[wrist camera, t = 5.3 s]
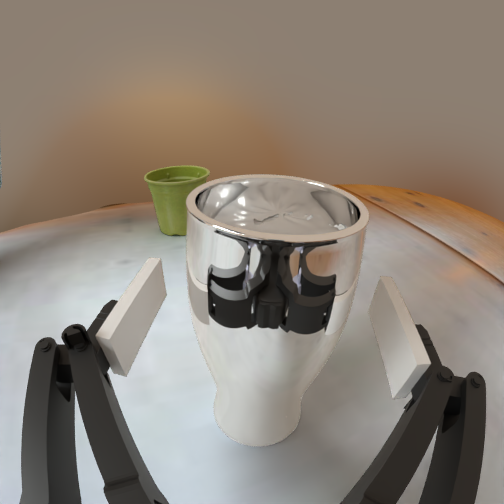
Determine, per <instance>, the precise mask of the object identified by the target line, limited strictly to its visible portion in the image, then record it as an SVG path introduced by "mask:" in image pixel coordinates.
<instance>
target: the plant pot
mask: <svg viewBox="0 0 504 504" xmlns="http://www.w3.org/2000/svg"><path fill="white" fill-rule="evenodd" d="M209 174H210V172H209V170H208V169H206V168H203V167H198V166H172V167H165V168H161V169H157V170H153V171H151V172H149V173H147V174H146V175H145V176H144V179H145V181H146V182H147V183H148V187H149V189H150V191H151V193H152V198H153V202H154V206H155V210H156V215H157V219H158V223H159V227H160V230H161V232H163V233H164V234H166V235H174V234H178V235H181V236H183V235H186V229H187V208H186V199H187V197H188V195H189V194H190V192H191V191H193V190H194V189H195V188H197V187H198V186H200V185H202V184H205V183H206V178H207V177H208V176H209Z"/></svg>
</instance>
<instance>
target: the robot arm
mask: <svg viewBox="0 0 504 504" xmlns="http://www.w3.org/2000/svg"><path fill="white" fill-rule="evenodd" d="M1 184H2V173H1V148H0V187H1ZM166 296H167V294H166V288H165V282H164V276H163V270H162V263H161V259H160V258H150V257H149V259H148V260H147V261H146V263H145V264H144V265H143V267H142V268H141V269H140V271H139V272H138V274H137V275H136V276H135V278H134V279H133V281H132V282H131V283H130V285H129V286H128V288H127V289H126V291H125V292H124V293H123V295H122V296H121V298H120V299H119V301H116V300H111V301H110V302H108V303H107V304H106V305H105V306H104V307H103V308H102V310H101V311H100V313H99V314H98V316H97V318H95V320H94V321H93V323H92V324H91V326H90V327H89V329H88V330H87V331H86V329H85V327H84V326H82V325H80V324H74V325H71V326H68V327H67V328H66V329H65V330H64V331H63V333H62V337H61V338H62V340H63V342H64V343H65V345H57V344H56V342H55V340H54V339H53V338H50V337H46V338H43V339H41V340H40V341H39V342H38V343H37V344H36V346H35V350H34V354H33V359H32V363H31V368H30V374H29V379H28V385H27V392H26V399H25V407H24V416H23V428H22V447H21V473H22V495H21V499H20V503H19V504H82V503H81V496H80V489H79V481H78V473H77V462H76V449H75V391H76V395H77V400H78V404H79V408H80V412H81V415H82V419H83V423H84V426H85V429H86V433H87V436H88V439H89V442H90V445H91V448H92V451H93V454H94V457H95V460H96V462H97V465H98V467H99V470H100V473H101V475H102V477H103V480H104V483H105V486H104V493H105V496H106V499H107V501H108V503H109V504H169V503H168V501H167V500H166V498H165V497H164V495H163V494H162V493H161V492H160V490H159V489H158V487H157V486H156V484H155V482H154V480H153V478H152V477H151V475H150V473H149V471H148V469H147V467H146V465H145V463H144V461H143V459H142V457H141V455H140V453H139V451H138V449H137V447H136V444H135V442H134V440H133V438H132V435H131V433H130V431H129V429H128V426H127V424H126V421H125V419H124V416H123V414H122V411H121V409H120V406H119V403H118V401H117V398H116V395H115V392H114V389H113V386H112V384H111V381H110V377H109V375H108V373H107V371H108V369H109V367H111V369H112V371H113V373H115V374H118V375H122V376H125V377H127V375H128V373H129V370H130V368H131V366H132V364H133V362H134V360H135V358H136V356H137V354H138V351H139V349H140V347H141V345H142V343H143V341H144V339H145V337H146V335H147V333H148V331H149V329H150V327H151V325H152V323H153V321H154V319H155V317H156V315H157V313H158V311H159V309H160V307H161V305H162V303H163V301H164V300H165V298H166ZM368 313H369V316H370V319H371V322H372V325H373V329H374V332H375V335H376V338H377V342H378V345H379V349H380V352H381V356H382V359H383V363H384V366H385V370H386V374H387V378H388V382H389V386H390V390H391V394H392V398H393V399H398V398H406V397H407V395H408V394H409V393H410V392H411V393H412V396H413V397H412V399H411V400H410V401H409V402H408V403H407V405H406V406H405V407H404V409H405V411H404V413H403V414H402V416H401V418H400V420H399V421H398V423H397V425H396V427H395V428H394V430H393V432H392V433H391V435H390V436H389V438H388V440H387V441H386V443H385V444H384V446H383V447H382V449H381V451H380V452H379V454H378V455H377V456H376V458H375V459H374V461H373V462H372V464H371V465H370V466H369V468H368V469H367V471H366V472H365V473H364V475H363V476H362V477H361V479H360V480H359V481H358V482H357V484H356V485H355V486H354V488H353V489H352V490H351V491H350V492H349V494H348V495H347V496H346V497H345V498H344V500H343V501H342V502H341V503H340V504H396V503H397V501H398V500H399V498H400V497H401V495H402V493H403V492H404V490H405V489H406V487H407V485H408V484H409V482H410V480H411V479H412V477H413V475H414V473H415V472H416V470H417V468H418V466H419V464H420V462H421V460H422V458H423V457H424V455H425V453H426V451H427V448H428V446H429V444H430V442H431V440H432V438H433V436H434V433H435V431H436V429H437V427H438V430H437V436H436V441H435V446H434V451H433V455H432V460H431V464H430V468H429V472H428V475H427V479H426V482H425V486H424V489H423V492H422V495H421V498H420V501H419V504H474V503H475V499H476V494H477V489H478V484H479V479H480V473H481V466H482V459H483V450H484V440H485V423H486V384H485V380H484V378H483V377H482V376H481V375H480V374H479V373H477V372H471V373H469V374H468V375H467V377H466V378H463V377H457V376H454V375H453V373H452V371H451V370H450V369H449V368H447V367H445V366H442V364H441V362H440V359H439V357H438V354H437V352H436V350H435V348H434V346H433V343H432V341H431V340H430V336H429V334H428V332H427V330H426V329H425V328H424V327H423V326H422V325H415V324H414V322H413V320H412V318H411V315H410V313H409V311H408V309H407V307H406V305H405V303H404V301H403V299H402V297H401V295H400V293H399V291H398V289H397V287H396V285H395V283H394V281H393V279H392V277H384V276H380V279H379V282H378V285H377V288H376V291H375V294H374V297H373V299H372V302H371V305H370V308H369V311H368Z"/></svg>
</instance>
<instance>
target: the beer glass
mask: <svg viewBox="0 0 504 504" xmlns="http://www.w3.org/2000/svg"><path fill="white" fill-rule="evenodd" d="M186 208H187V229H186V275H187V289H188V300H189V307H190V312H191V318H192V324H193V328H194V331H195V334H196V337H197V341H198V344H199V347H200V350H201V352H202V355H203V357H204V359H205V362H206V364H207V366H208V369H209V371H210V373H211V375H212V377H213V380H214V382H215V384H216V388H217V392H216V396H215V400H214V406H213V411H214V418H215V421H216V423H217V425H218V427H219V428H220V429H221V431H222V432H223V433H224V434H225V435H226V436H227V437H229V438H230V439H232V440H233V441H235V442H237V443H240V444H243V445H246V446H252V447H263V446H269V445H273V444H276V443H278V442H280V441H282V440H284V439H285V438H287V437H288V436H289V435H290V434H291V433H292V432H293V431H294V430H295V428H296V427H297V425H298V423H299V420H300V416H301V398H302V396H303V394H304V393H305V391H306V390H307V389H308V387H309V386H310V385H311V383H312V382H313V381H314V379H315V378H316V377H317V375H318V374H319V372H320V371H321V370H322V368H323V367H324V365H325V364H326V362H327V361H328V359H329V357H330V356H331V354H332V352H333V350H334V349H335V347H336V345H337V343H338V341H339V339H340V337H341V334H342V332H343V329H344V327H345V324H346V322H347V319H348V316H349V313H350V310H351V306H352V303H353V299H354V296H355V292H356V288H357V283H358V278H359V273H360V268H361V263H362V256H363V249H364V243H365V236H366V230H367V225H368V222H369V212H368V210H367V208H366V206H365V205H364V204H363V203H362V202H361V201H360V200H358V199H357V198H356V197H354V196H353V195H351V194H349V193H347V192H345V191H343V190H341V189H339V188H336V187H334V186H331V185H328V184H325V183H321V182H317V181H313V180H309V179H304V178H298V177H292V176H281V175H265V174H264V175H263V174H257V175H240V176H232V177H225V178H221V179H216V180H213V181H210V182H207V183H205V184H202V185H200V186H198V187H197V188H195V189H194V190H193V191H191V192H190V194H189V195H188V197H187V199H186Z"/></svg>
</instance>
